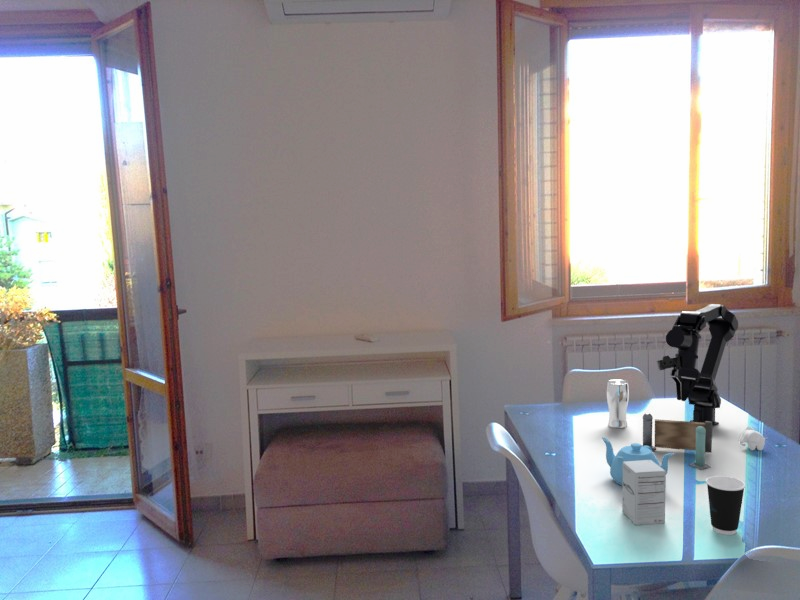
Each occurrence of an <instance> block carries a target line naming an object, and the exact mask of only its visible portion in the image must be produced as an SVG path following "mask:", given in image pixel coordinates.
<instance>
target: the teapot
mask: <svg viewBox="0 0 800 600" xmlns="http://www.w3.org/2000/svg"><path fill="white" fill-rule="evenodd" d="M601 440H603V442H604V444H605V449H606V451H605V452H606V453H605V459H606V463H607V465H608V466H609V467H610V468H609V469H610V470H609V474H610V476H611V478H612V479H613V481H614V482H615V483H616V484H617V485H620V486H622V487H623V462H625V461H639V460H652V461H653V462H654V463H656V464H657V465H659V466H660V467H661V468H662V469H664V470H665V471H666V475H667V474H668V470H669V459H670V457H672V456H674V455H675V453H674V452H672V453H671V452H670V453H665V454H664V455H663V456H662V459H661V464H660V462H659V459H658V458H657V457H656V455H655V454H654V452H652V448H651V447H649V446H643V447H641V446H642V445H643V444H640V443H637V442H635V443H631V444H630V445H627V446H622V447H621V449H619V451H618V452H617V453H616V454H615V453H614V450H613V445H612V443H611V441H610V440H609V439H607V438H605V437H601Z"/></svg>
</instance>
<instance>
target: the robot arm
mask: <svg viewBox="0 0 800 600" xmlns="http://www.w3.org/2000/svg"><path fill="white" fill-rule="evenodd" d="M707 325H708V332H710V336H711V338H710V341H709V344H708V346H707V350H706V354H705V356H704V357H705V358H704V360H703V363H702V366H701V369H700V371H699V369H697V368H696V366H697V360H698V359H699V355H698V351H699V344H700V340H702V335H701V334H700V332H702V331H703V330H704V329H705V328H706V327H707ZM738 328H739V321H738V319H737V317H736V315H735V314H734V313H732V312H731V311H730V310H729V309H727V308H726V306H725V305H723V304H717V303H716V304H715V303H710V304H707V306H704V307H703V308H699V309H697V310H694V311H692V310H690V311H689V310H682V311H680V314H678V316H677V318H676V320H675V322H674V324H673V326H672V329H670V330H669V331H668V332H667V334H666V335H665V341H666V344H667V345H668V346H669V347H671V348H675V349H677V352H676V353H675V356H674V357H670V355H663V356H662V359H659V360H658V359H657V360H656V363H657V368H658V371H664V370H666V369H670V374H669V375H670V378H671V380H673V382H674V384H675V393H676V400H678V401H681V402H686V401H687V399H688V404H689V405H693V411H692V412H693V413H692V415H693V417H692V419H690V420H689V422H701V423H705V421H711V422H712V426H716V425H719V424H720V422H718V421H716V409H721V404H722V399H721V397H720V395H719V393H718V386H717V384H716V378H717V374H718V371H719V367H720V364H721V360H722V357H723V355H724V352H725V348H726V344H727V342H729V341H730V340H731V339H733V338H734V337H735V335H736V331H737V330H738Z"/></svg>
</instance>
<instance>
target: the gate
mask: <svg viewBox="0 0 800 600" xmlns="http://www.w3.org/2000/svg"><path fill="white" fill-rule="evenodd" d="M698 426H702V427H704V428H705V430H706V433H705V453H707V454H708V453H712V452H713V451H712V450H713V449H712V448H713V446H712V445H713V425H712V422H711V421H705V423H701V422H690V421H686V420H672V419H670V420H669V419H657V418H656V419H654V447H656V448H661V449H673V450H685V451H696V431H695V430H696V428H697V427H698Z"/></svg>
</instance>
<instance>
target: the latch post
mask: <svg viewBox="0 0 800 600" xmlns="http://www.w3.org/2000/svg"><path fill="white" fill-rule="evenodd" d="M695 431H696V451H695V450H694V451H695V453H694V454H695V457H694V458H695V462H691V463H689V464H688V466H690V467H692V468H695V469H698V470H700V471H702V470H706V469H710V468H712V465H710V464H707V463H706V452H705V433H706V430H705V428H704V427H702V426H698V427H697V428H696V430H695Z"/></svg>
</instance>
